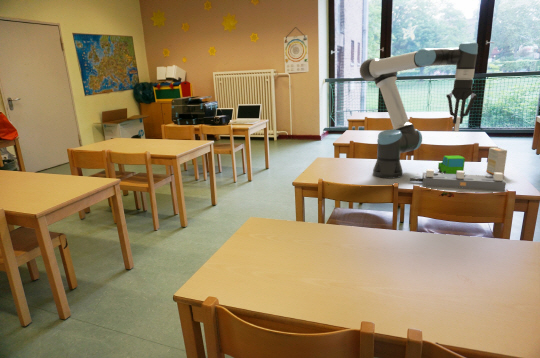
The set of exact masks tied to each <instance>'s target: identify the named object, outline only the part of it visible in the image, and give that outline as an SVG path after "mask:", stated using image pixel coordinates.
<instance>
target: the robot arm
mask: <svg viewBox="0 0 540 358" xmlns="http://www.w3.org/2000/svg"><path fill="white" fill-rule="evenodd" d="M478 47H479V44H478V43H477V42H460V43H459V45H458V47H435V48H430V47H424V48H420V49H418V50H415V51H412V52H407V53H403V54H398V55H394V56H390V57H386V58H385V57H383V58H369V59H366V60H364V61H363V62H362V63H361V65H360V66H359V74H360V76H361V78H362V79H363V80H364V81H367V82H374V84H375V86H376V88H379V89H380V93H381V95H382V98H383V101H384V104H385V106H386V111H387V112H388V116H389V119H390V121H391V125H392V129H386V130H382V131H380V132H379V133H378V135H377V152H376V162H375V163H374V167H373V169H372V174H373V176H375V177H377V178H383V179H397V178H401V177H402V176H403V172H404V171H403V167H402V164H401V154H403V153H407V152H409V153H410V152H413V151H415V150H418V149H419V148H420V147H421V145H422V143H423V135H422V133H421V131H420V130H419V129H417V128H415V126H414V124H413V123H411V122H410V121H409V118H408V115H407V113H406V108H405V107H404V103H403V100H402V98H401V95H400V91H399V88H398V86H397V83H396V81H397V80H398V72H404V71H407V70H414V69H418V68H425V67H432V66H435V67H436V66H455V72H454V73H455V74H454V78H455V79H454V81H453V88H452V90H451V92H450V93H447V94H446V96H445V97H446V98H447V101H448V109H449V110H448V111H449V115H450V116H452V117H453V119H452V120H453V121H452V123H453V124H454V131H455V132H459V131H460V125H461V124H463V121H464V120H463V119H464V117H468V116H469V114H470V110H471V108H472V106H473V104H474V101H475V100H476V99H477V98H478V95H477V94H475V93H474V91H473V82H474V80H473V79H474V76H475V68H476V62H477V57H478V56H477V55H478V54H479V53H478V49H479V48H478ZM453 97H454V98H455V105H454V110H453V101H452V98H453ZM469 98H470V100H469V102H468V104H467V107H466V102H467V100H468V99H469ZM460 101H461V105H460ZM459 106H460V111H459ZM465 107H466V108H465ZM458 114H459V115H458Z"/></svg>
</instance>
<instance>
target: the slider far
mask: <svg viewBox="0 0 540 358" xmlns="http://www.w3.org/2000/svg"><path fill="white" fill-rule="evenodd" d="M492 176H493V179H494V180H497V181H502V179H503V177H504V175H503V174H502V173H500V172H494V175H492ZM503 180H504V179H503Z"/></svg>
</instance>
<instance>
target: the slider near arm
mask: <svg viewBox="0 0 540 358" xmlns="http://www.w3.org/2000/svg"><path fill="white" fill-rule="evenodd" d="M425 173H426V177H433V175H434V173H435V169H432V168H430V169H429V168H427V169H426V172H425Z"/></svg>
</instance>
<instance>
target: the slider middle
mask: <svg viewBox="0 0 540 358" xmlns="http://www.w3.org/2000/svg"><path fill="white" fill-rule="evenodd" d="M464 175H466V174H465V171H457V172H456V178H459V179H464Z"/></svg>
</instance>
